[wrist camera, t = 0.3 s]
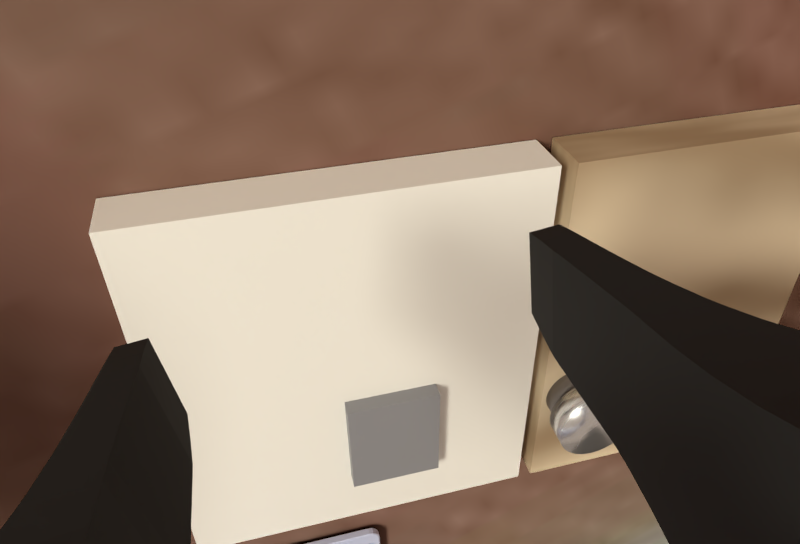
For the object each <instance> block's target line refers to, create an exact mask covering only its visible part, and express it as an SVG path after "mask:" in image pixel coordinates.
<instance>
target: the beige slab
mask: <svg viewBox="0 0 800 544" xmlns="http://www.w3.org/2000/svg"><path fill="white" fill-rule="evenodd" d="M550 154H551V155H552V156H553V157H554V158H555V159H556V160H557V161H558V162H559V163H560V164H561V165H562V169H561V176H560V183H559V190H558V198H557V205H556V212H555V219H554V226H555V225H558V224H560V225H562V226H564V227H566V228H568V229H570V230H572V231H574V232H575V233H577V234H579V235H581V236H583V237H585V238H586V239H588V240H590V241H592V242H594V243H596V244H597V245H599V246H601V247H603V248H605V249H607V250H608V251H610V252H612V253H614V254H616V255H618V256H619V257H621V258H623V259H625V260H627V261H629V262H631V263H633V264H635V265H637V266H639V267H641V268H642V269H644V270H646V271H648V272H650V273H652V274H654V275H657V276H659V277H661V278H663V279H665V280H667V281H669V282H671V283H673V284H676V285H678V286H680V287H682V288H685V289H687V290H689V291H691V292H694V293H696V294H698V295H700V296H703V297H705V298H707V299H710V300H712V301H715V302H717V303H720V304H722V305H725V306H728V307H730V308H733V309H736V310H739V311H741V312H744V313H747V314H750V315H752V316H755V317H758V318H761V319H764V320H767V321H770V322H773V323H776V324H778V323H779V321H780V318H781V316H782V314H783V311H784V309H785V307H786V304H787V302H788V299H789V297H790V295H791V292H792V290H793V287H794V285H795V283H796V280H797V278H798V275H799V273H800V105H792V106H785V107H777V108H770V109H762V110H755V111H747V112H740V113H732V114H725V115H717V116H710V117H702V118H695V119H687V120H680V121H672V122H665V123H658V124H650V125H643V126H635V127H628V128H620V129H613V130H605V131H598V132H590V133H583V134H575V135H568V136H560V137H553V138H552V145H551V153H550ZM574 388H575V387H574V386H573V384H572V383H571V381H570V380H569V378H568V377H567V376H566V374H565V373H564V371H563V370H562V368H561V367H560V365H559V364H558V362H557V361H556V359H555V358H554V356H553V354H552V353H551V351H550V349H549V347H548V345H547V343H546V341H545V339H544V337H543V335H542V333H541V331H540V329H539V332H538V339H537V346H536V353H535V360H534V367H533V375H532V382H531V389H530V396H529V403H528V410H527V417H526V424H525V431H524V438H523V445H522V452H521V456H522V458H523V460H524V462H525V464H526V466H527V468H528V470H529V472H530V473H534V472H538V471H542V470H546V469H550V468H555V467H559V466H563V465H567V464H572V463H576V462H580V461H584V460H588V459H593V458H597V457H601V456H605V455H609V454H614V453H618V452H619V451H618V450H617V448H616V447H615V445H614V443H612V444H611V445H609V446H607V447H606V448H603V449H601V450H599V451H596V452H592V453H588V454H574V453H570V452H568V451H566V450H565V449H564V448H563V447H562V445H561V443H560V441H559V440H558V438H557V436H556V434H555V433H554V431H553V429H552V427H551V425H550V414H551V412H552V409H553V408H554V406H555V405H556V403H557V402H558V401H559V400H560V399H561V398H562V397H563V396H564V395H565V394H566V393H568V392H569V391H571V390H572V389H574Z"/></svg>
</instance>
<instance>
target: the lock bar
mask: <svg viewBox="0 0 800 544" xmlns="http://www.w3.org/2000/svg"><path fill="white" fill-rule="evenodd" d="M550 425H551V427H552V429H553V431H554V433H555V434H556V436H557V438H558V440H559V441H560V443H561V445H562V447H563V448H564V449H565V450H566V451H568V452H570V453H574V454H588V453H592V452H596V451H599V450H601V449H603V448H606V447H607V446H609V445H611V444H612V443H613V442H612V441H611V439H610V438H609V436H608V435H607V433H606V432H605V430H604V429H603V428H602V426H601V425H600V423H599V422H598V420H597V419H596V417H595V416H594V415H593V413H592V412H591V410H590V409H589V407H588V406H587V405H586V403H585V402H584V400H583V399H582V397H581V396H580V394H579V393H578V392H577V390H576V389H575V388H574V389H572V390H571V391H569V392H568V393H566V394H565V395H564V396H563V397H562V398H561V399H560V400H559V401H558V402H557V403H556V405H555V406H554V408H553V409H552V412H551V414H550Z"/></svg>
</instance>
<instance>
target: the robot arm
mask: <svg viewBox="0 0 800 544" xmlns="http://www.w3.org/2000/svg"><path fill="white" fill-rule="evenodd" d="M529 242H530V275H531V308H532V315H533V317H534V319H535V321H536V323H537V325H538V327H539V329H540V331H541V333H542V335H543V337H544V339H545V341H546V343H547V345H548V347H549V349H550V351H551V353H552V354H553V356H554V358H555V359H556V361H557V362H558V364H559V365H560V367H561V368H562V370H563V371H564V373H565V374H566V376H567V377H568V378H569V380H570V381H571V383H572V384H573V386H574V387H575V389H576V390H577V392H578V393H579V394H580V396H581V397H582V399H583V400H584V402H585V403H586V405H587V406H588V407H589V409H590V410H591V412H592V413H593V415H594V416H595V417H596V419H597V420H598V422H599V423H600V425H601V426H602V428H603V429H604V430H605V432H606V433H607V435H608V436H609V438H610V439H611V441H612V442H613V443H614V445H615V447H616V448H617V450H618V451H619V453H620V454H621V456H622V458H623V459H624V461H625V462H626V464H627V466H628V468H629V469H630V471H631V473H632V475H633V477H634V479H635V480H636V482H637V484H638V486H639V488H640V490H641V491H642V493H643V495H644V497H645V499H646V500H647V502H648V504H649V506H650V508H651V510H652V512H653V514H654V515H655V517H656V519H657V521H658V523H659V525H660V527H661V529H662V531H663V533H664V535H665V537H666V539H667V540H668V542H669V544H800V330H797V329H793V328H790V327H786V326H783V325H780V324H776V323H773V322H770V321H767V320H764V319H761V318H758V317H755V316H752V315H750V314H747V313H744V312H741V311H739V310H736V309H733V308H730V307H728V306H725V305H722V304H720V303H717V302H715V301H712V300H710V299H707V298H705V297H703V296H700V295H698V294H696V293H694V292H691V291H689V290H687V289H685V288H682V287H680V286H678V285H676V284H673V283H671V282H669V281H667V280H665V279H663V278H661V277H659V276H657V275H654V274H652V273H650V272H648V271H646V270H644V269H642V268H641V267H639V266H637V265H635V264H633V263H631V262H629V261H627V260H625V259H623V258H621V257H619V256H618V255H616V254H614V253H612V252H610V251H608V250H607V249H605V248H603V247H601V246H599V245H597V244H596V243H594V242H592V241H590V240H588V239H586V238H585V237H583V236H581V235H579V234H577V233H575V232H574V231H572V230H570V229H568V228H566V227H564V226H562V225H560V224H558V225H555V226H551V227H547V228H544V229H540V230H536V231H533V232H529ZM192 479H193V461H192V450H191V440H190V431H189V423H188V414H187V412H186V410H185V408H184V406H183V404H182V402H181V400H180V398H179V396H178V394H177V392H176V390H175V389H174V387H173V385H172V383H171V381H170V379H169V377H168V375H167V373H166V371H165V369H164V367H163V365H162V363H161V361H160V359H159V358H158V356H157V354H156V352H155V350H154V348H153V346H152V344H151V342H150V340H149V338H147V339H143V340H139V341H136V342H132V343H129V344H125V345H121V346H118V347H114V348H113V350H112V352H111V353H110V355H109V357H108V358H107V360H106V362H105V364H104V365H103V367H102V369H101V371H100V373H99V374H98V376H97V378H96V380H95V382H94V383H93V385H92V387H91V389H90V391H89V393H88V394H87V396H86V398H85V400H84V401H83V403H82V405H81V407H80V409H79V410H78V412H77V414H76V416H75V417H74V419H73V421H72V422H71V424H70V426H69V428H68V429H67V431H66V433H65V434H64V436H63V438H62V439H61V441H60V443H59V445H58V446H57V448H56V449H55V451H54V453H53V454H52V456H51V457H50V459H49V460H48V462H47V464H46V465H45V467H44V468H43V470H42V471H41V473H40V474H39V476H38V477H37V479H36V480H35V482H34V483H33V485H32V487H31V488H30V490H29V491H28V493H27V494H26V496H25V497H24V498H23V500H22V501H21V503H20V504H19V505H18V507H17V508H16V510H15V511H14V512H13V514H12V515H11V516H10V518H9V519H8V520H7V522H6V523H5V524H4V526H3V527H2V528H1V529H0V544H191V515H192ZM305 544H380V536H379V532H378V530H377V529H375V528H367V529H363V530H359V531H355V532H351V533H346V534H342V535H338V536H334V537H330V538H326V539H322V540H318V541H313V542H309V543H305Z"/></svg>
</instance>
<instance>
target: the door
mask: <svg viewBox="0 0 800 544" xmlns="http://www.w3.org/2000/svg"><path fill="white" fill-rule="evenodd" d="M561 169H562V165H561V164H560V163H559V162H558V161H557V160H556V159H555V158H554V157H553V156H552V155H551V154H550V153H549V152H548V151H547V150H546V149H545V148H544V147H543V146H542V145H541V144H540V143H539V142H538V141H537V140H530V141H523V142H515V143H508V144H501V145H493V146H486V147H478V148H471V149H463V150H456V151H448V152H441V153H433V154H426V155H418V156H411V157H403V158H396V159H388V160H381V161H373V162H366V163H358V164H351V165H344V166H336V167H329V168H321V169H314V170H306V171H299V172H291V173H284V174H276V175H269V176H261V177H254V178H246V179H239V180H231V181H224V182H216V183H209V184H201V185H194V186H187V187H179V188H172V189H164V190H157V191H149V192H142V193H134V194H127V195H119V196H112V197H104V198H97V199H96V201H95V206H94V210H93V215H92V220H91V225H90V230H89V235H90V238H91V241H92V244H93V247H94V250H95V253H96V256H97V259H98V261H99V264H100V267H101V270H102V273H103V276H104V279H105V282H106V284H107V287H108V290H109V293H110V296H111V299H112V302H113V305H114V307H115V310H116V313H117V316H118V319H119V322H120V325H121V328H122V331H123V333H124V336H125V339H126V342H127V344H129V343H132V342H136V341H139V340H143V339H147V338H149V340H150V342H151V344H152V346H153V348H154V350H155V352H156V354H157V356H158V358H159V359H160V361H161V363H162V365H163V367H164V369H165V371H166V373H167V375H168V377H169V379H170V381H171V383H172V385H173V387H174V389H175V390H176V392H177V394H178V396H179V398H180V400H181V402H182V404H183V406H184V408H185V410H186V412H187V414H188V423H189V431H190V440H191V450H192V461H193V479H192V515H191V529H192V532H193V535H194V538H195V541H196V544H234V543H239V542H243V541H247V540H251V539H256V538H260V537H264V536H268V535H272V534H277V533H281V532H285V531H289V530H293V529H298V528H302V527H306V526H310V525H315V524H319V523H323V522H327V521H331V520H336V519H340V518H344V517H348V516H352V515H357V514H361V513H365V512H369V511H374V510H378V509H382V508H386V507H390V506H395V505H399V504H403V503H407V502H411V501H416V500H420V499H424V498H428V497H433V496H437V495H441V494H445V493H449V492H454V491H458V490H462V489H466V488H470V487H475V486H479V485H483V484H487V483H492V482H496V481H500V480H504V479H508V478H513V477H517V476H518V474H519V467H520V459H521V452H522V445H523V438H524V431H525V424H526V417H527V410H528V403H529V396H530V389H531V382H532V375H533V367H534V360H535V353H536V346H537V339H538V332H539V327H538V325H537V323H536V321H535V319H534V317H533V315H532V308H531V275H530V242H529V232H533V231H536V230H540V229H544V228H547V227H551V226H554V219H555V212H556V205H557V198H558V190H559V183H560V176H561Z"/></svg>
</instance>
